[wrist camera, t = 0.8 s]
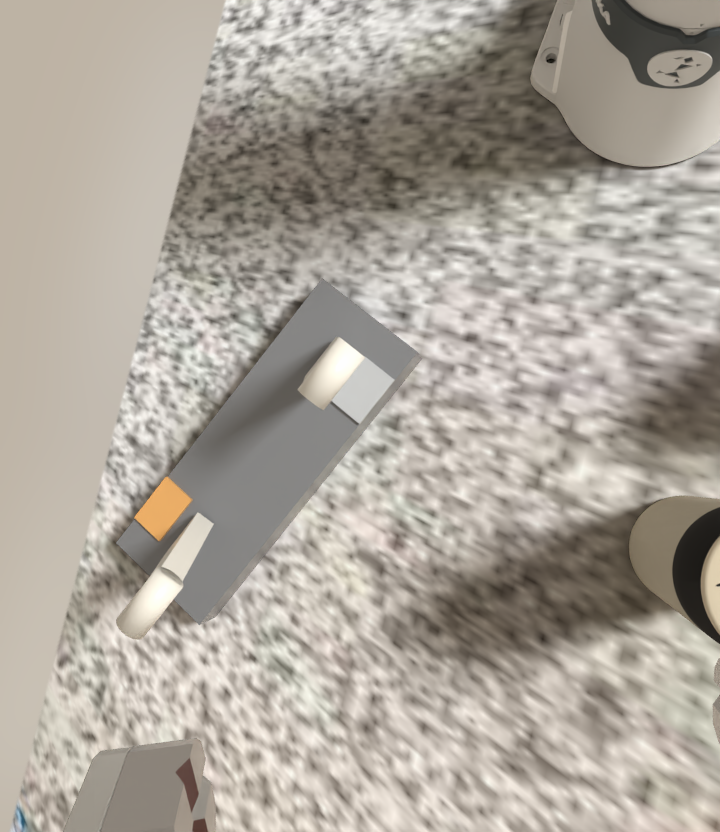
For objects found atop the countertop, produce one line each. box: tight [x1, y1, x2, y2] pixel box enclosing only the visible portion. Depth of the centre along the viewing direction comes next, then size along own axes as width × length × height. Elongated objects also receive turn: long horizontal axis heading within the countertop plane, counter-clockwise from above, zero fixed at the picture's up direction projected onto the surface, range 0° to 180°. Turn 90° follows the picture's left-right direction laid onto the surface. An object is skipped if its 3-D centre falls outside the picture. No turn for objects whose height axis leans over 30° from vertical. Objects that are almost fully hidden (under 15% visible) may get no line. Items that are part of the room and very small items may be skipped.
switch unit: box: [116, 279, 422, 625], centre depth 55 cm, size 28×10×3 cm, turn 140°
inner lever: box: [297, 337, 365, 410], centre depth 45 cm, size 4×2×14 cm, turn 140°
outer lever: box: [116, 513, 214, 639], centre depth 46 cm, size 4×2×14 cm, turn 141°
